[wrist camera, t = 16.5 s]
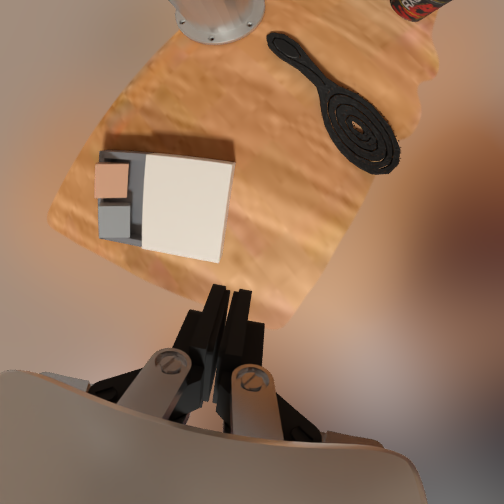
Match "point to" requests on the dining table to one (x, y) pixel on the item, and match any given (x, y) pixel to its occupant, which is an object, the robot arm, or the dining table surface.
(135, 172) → the tray
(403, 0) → the deodorant
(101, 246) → the dining table surface
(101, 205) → the slate tile
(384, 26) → the dining table surface
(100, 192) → the terracotta tile
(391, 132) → the hairbrush
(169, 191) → the board
